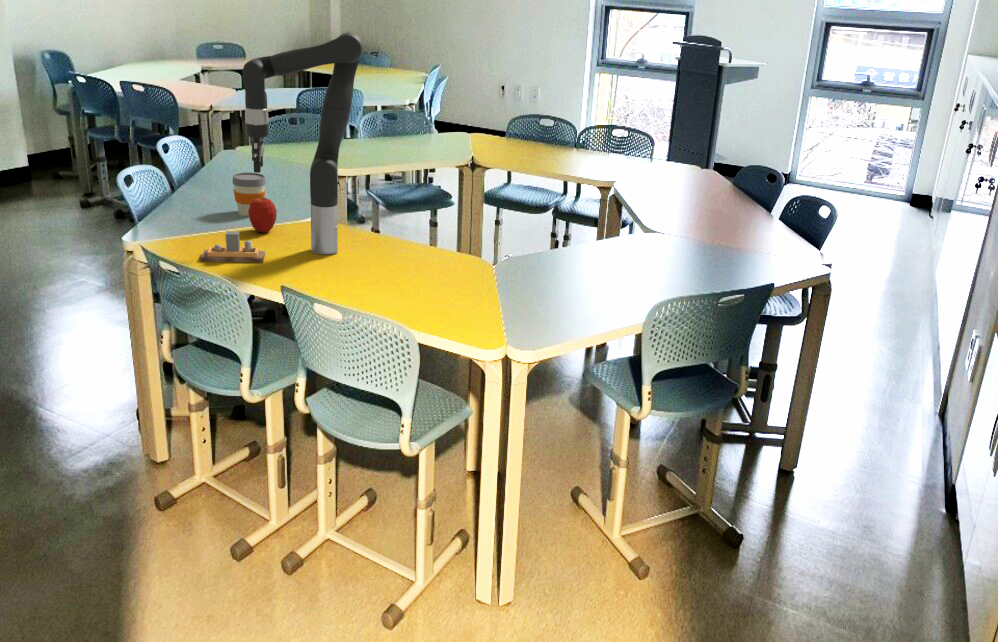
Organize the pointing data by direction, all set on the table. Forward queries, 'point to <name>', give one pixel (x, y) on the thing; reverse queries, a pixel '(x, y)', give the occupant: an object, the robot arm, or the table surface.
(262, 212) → the apple
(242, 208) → the reusable coffee cup
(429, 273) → the table surface
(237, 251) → the hole bar
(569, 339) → the table surface
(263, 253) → the pin board
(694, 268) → the table surface
